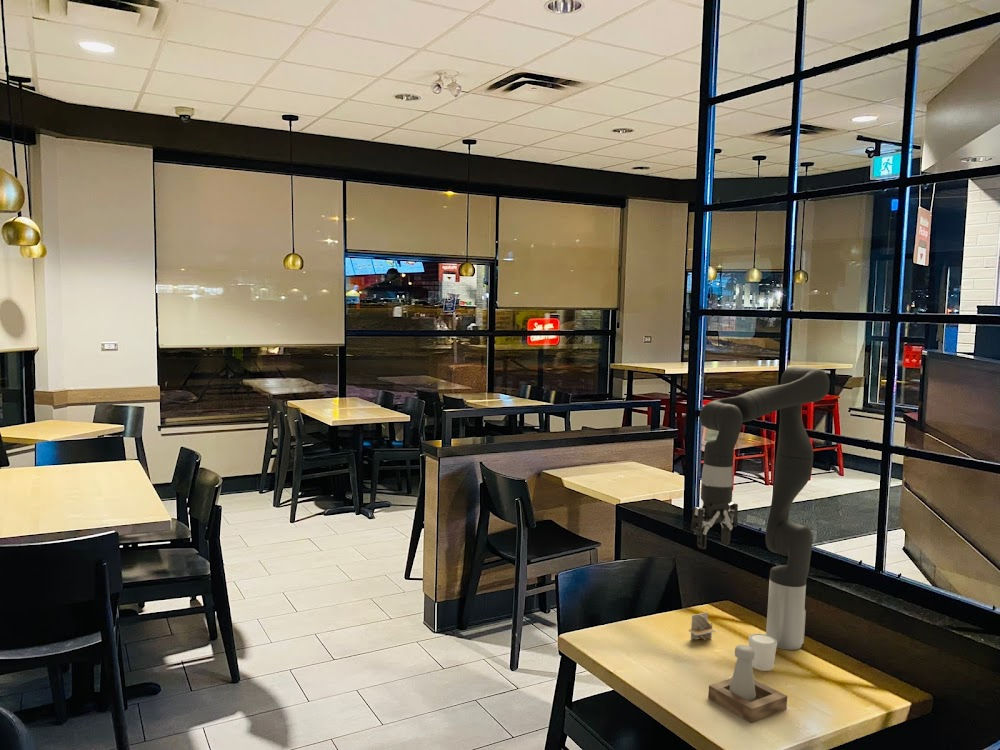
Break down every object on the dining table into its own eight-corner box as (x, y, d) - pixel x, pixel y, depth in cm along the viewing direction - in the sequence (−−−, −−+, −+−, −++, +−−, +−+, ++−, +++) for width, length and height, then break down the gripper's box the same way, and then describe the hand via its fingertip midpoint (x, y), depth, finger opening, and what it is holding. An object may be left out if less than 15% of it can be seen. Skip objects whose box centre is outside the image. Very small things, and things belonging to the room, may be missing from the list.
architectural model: (715, 643, 202) (716, 616, 201) (695, 647, 199) (697, 620, 198) (706, 638, 205) (708, 612, 204) (686, 642, 202) (688, 615, 201)
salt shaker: (756, 710, 166) (760, 654, 165) (730, 707, 167) (733, 651, 166) (752, 698, 171) (756, 643, 170) (727, 694, 172) (730, 640, 171)
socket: (743, 685, 177) (743, 673, 177) (786, 708, 167) (787, 695, 167) (708, 698, 170) (708, 685, 170) (751, 722, 160) (752, 709, 160)
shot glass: (776, 663, 190) (778, 636, 189) (774, 674, 184) (776, 646, 183) (748, 657, 193) (750, 631, 192) (745, 668, 186) (747, 640, 186)
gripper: (724, 477, 193) (721, 538, 194) (685, 481, 185) (682, 545, 186) (748, 483, 186) (744, 546, 188) (709, 488, 179) (705, 554, 180)
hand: (713, 546), depth 187 cm, fingers open, 8 cm apart
